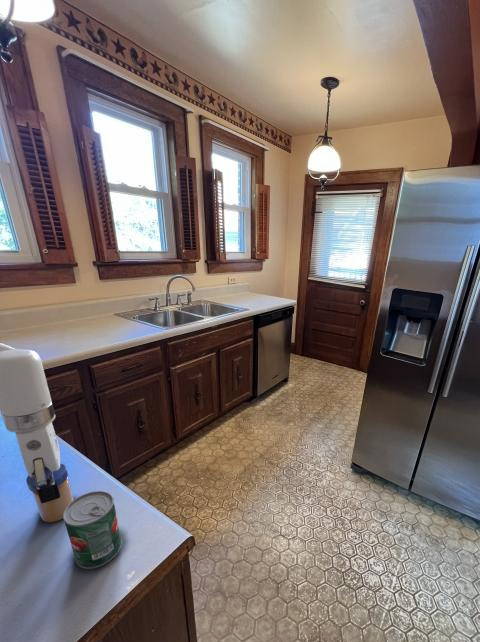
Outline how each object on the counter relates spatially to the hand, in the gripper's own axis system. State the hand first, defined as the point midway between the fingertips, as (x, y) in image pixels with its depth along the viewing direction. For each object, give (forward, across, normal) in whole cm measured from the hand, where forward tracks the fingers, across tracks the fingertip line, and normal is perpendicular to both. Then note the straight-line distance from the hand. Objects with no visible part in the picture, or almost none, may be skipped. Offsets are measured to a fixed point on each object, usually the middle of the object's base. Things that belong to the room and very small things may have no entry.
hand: (50, 487), depth 65 cm
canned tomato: (+7, -15, -6) cm, 18 cm away
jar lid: (-3, 0, 0) cm, 3 cm away
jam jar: (+6, 0, 0) cm, 6 cm away
